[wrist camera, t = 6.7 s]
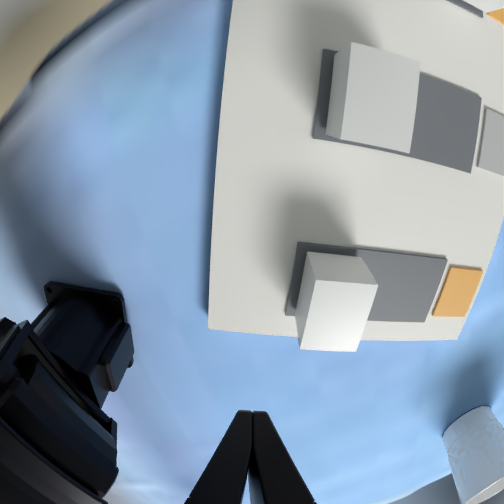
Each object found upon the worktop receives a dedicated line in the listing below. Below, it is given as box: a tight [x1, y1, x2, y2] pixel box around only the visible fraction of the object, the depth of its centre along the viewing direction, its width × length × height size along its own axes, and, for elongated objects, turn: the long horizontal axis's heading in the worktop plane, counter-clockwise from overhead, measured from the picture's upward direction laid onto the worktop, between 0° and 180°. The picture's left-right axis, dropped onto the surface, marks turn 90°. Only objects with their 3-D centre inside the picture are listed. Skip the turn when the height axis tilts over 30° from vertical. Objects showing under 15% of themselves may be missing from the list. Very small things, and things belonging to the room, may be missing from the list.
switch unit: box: [208, 0, 504, 341], centre depth 14 cm, size 18×28×1 cm, turn 175°
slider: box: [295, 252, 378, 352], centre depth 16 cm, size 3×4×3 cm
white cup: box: [442, 406, 504, 504], centre depth 22 cm, size 8×8×10 cm
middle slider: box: [325, 42, 420, 153], centre depth 12 cm, size 3×4×3 cm
